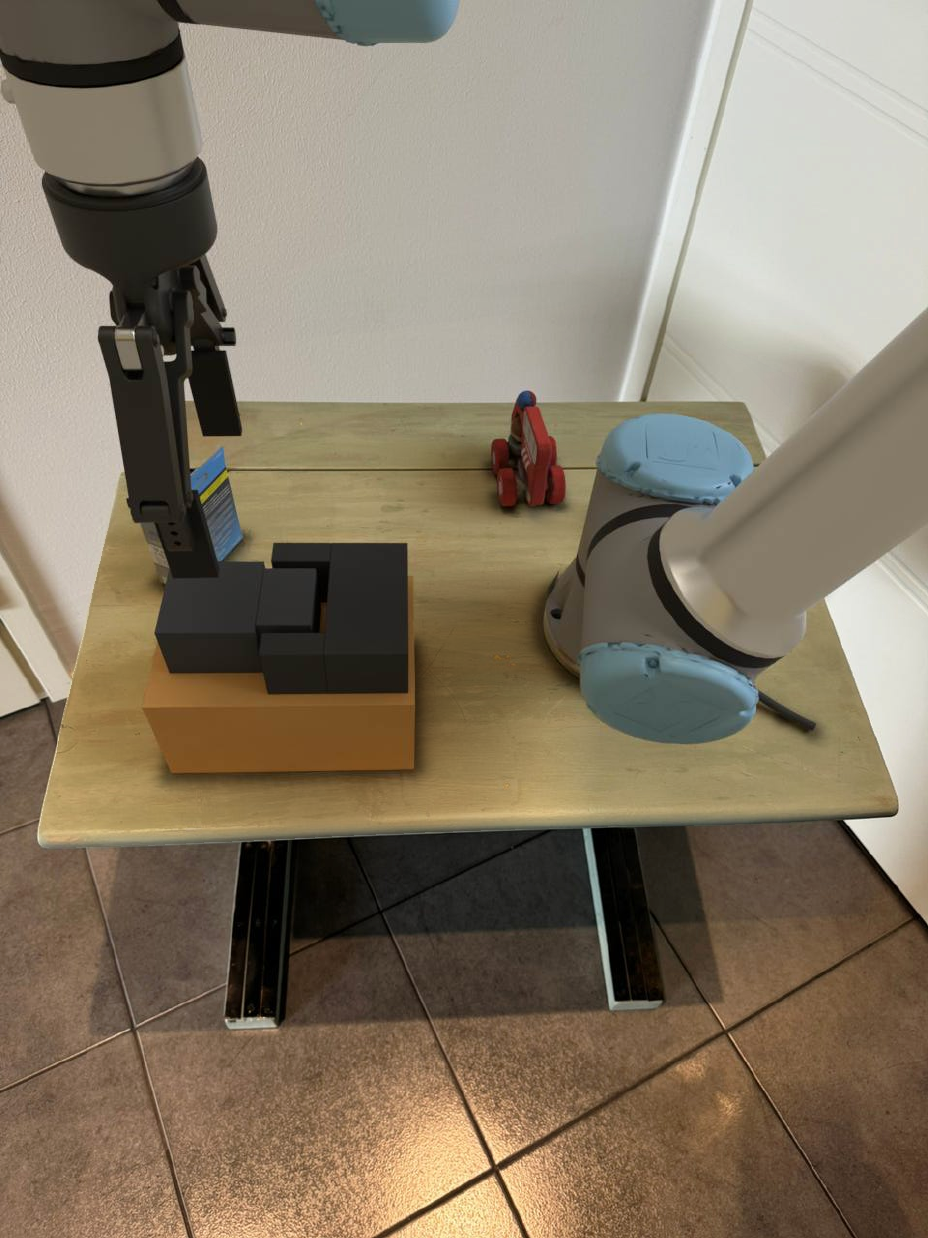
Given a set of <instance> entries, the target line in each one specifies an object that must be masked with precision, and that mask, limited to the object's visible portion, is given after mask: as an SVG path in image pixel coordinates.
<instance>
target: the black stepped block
mask: <svg viewBox="0 0 928 1238" xmlns="http://www.w3.org/2000/svg"><path fill="white" fill-rule="evenodd" d="M218 565H219V568H220V569H219V575H218V578H174V579H173V577H172V574H171V571H170V569H169V573H168V577H167V581H166V585H164V590H163V594H162V599H161V602H160V607H159V611H158V615H157V620H156V624H155V628H154V632H153V634H154V636H155V638H156V643H157V642H158V644H159V647H160V649H161V652H162V655H163V657H164V660H165V663H166V665H167V668H168V670H169V673H263V671H262V667H261V662H260V658H259V649H260V642H261V634H262V633H319V629H320V617H321V605H320V597H319V589H318V581H317V573H316V569H315V568H272V567H266V564H265V561H263V560H262V561H260V560H259V561H254V560H252V561H251V560H249V561H248V560H245V561H244V560H243V561H242V560H241V561H239V560H238V561H236V560H234V561H232V560H231V561H230V560H226V561H225V560H222V561H218Z"/></svg>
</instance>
